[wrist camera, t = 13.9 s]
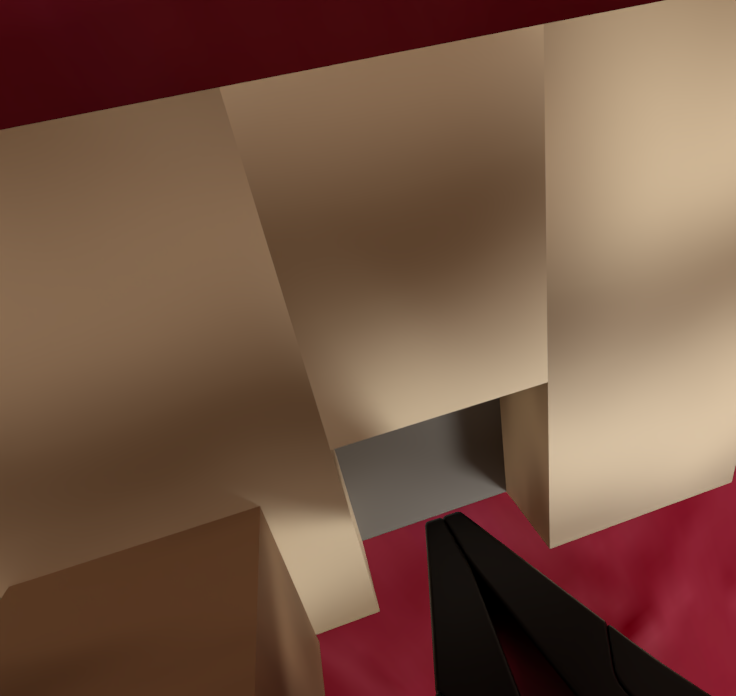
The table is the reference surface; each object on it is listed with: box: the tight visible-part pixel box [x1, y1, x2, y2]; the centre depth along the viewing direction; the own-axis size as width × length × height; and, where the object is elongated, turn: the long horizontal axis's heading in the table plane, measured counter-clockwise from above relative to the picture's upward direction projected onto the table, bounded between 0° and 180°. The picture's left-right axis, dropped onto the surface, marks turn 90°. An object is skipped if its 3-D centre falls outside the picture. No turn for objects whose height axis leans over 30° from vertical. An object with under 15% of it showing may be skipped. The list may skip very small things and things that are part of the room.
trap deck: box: [0, 0, 736, 635], centre depth 8 cm, size 12×25×6 cm, turn 101°
